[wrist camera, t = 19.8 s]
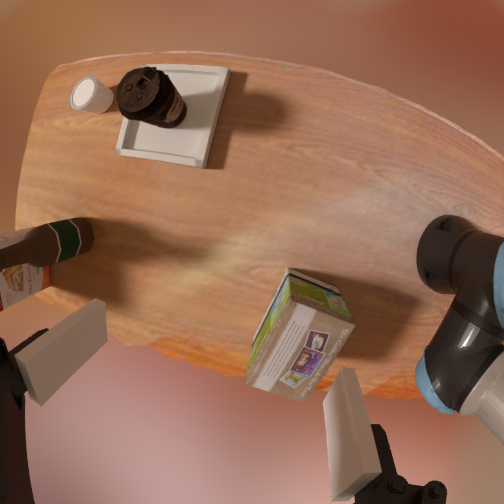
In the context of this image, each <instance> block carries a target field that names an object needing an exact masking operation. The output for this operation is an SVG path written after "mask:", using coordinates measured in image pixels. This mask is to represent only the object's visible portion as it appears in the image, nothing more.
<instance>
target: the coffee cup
mask: <svg viewBox="0 0 504 504" xmlns="http://www.w3.org/2000/svg"><path fill="white" fill-rule="evenodd" d="M156 68H157V67H149V66H148V67H147V66H146V67H143V68H139V69H134V70H132V71H130V72H128V73H127V74H126V75H125V76H124V77H123V78H122V80H121V82H120V83H119V85H118V88H117V91H116V100H117V103H118V107H119V110H120V112H121V114H122V115H123V116H124V117H125V118H126V119H128V120H136V121H141V122H144V123H147V124H150V125H154V126H157V127H160V128H165V129H171V128H175V127H177V126H178V125H180V124H181V123H182V122H183V120H184V119H185V117H186V113H187V106H186V103H185V102H184V100H182V97H181V95H180V93H179V92H178V91H177V89H176V87H175V86H174V85H173V83H172V81H170V78H169V77H168V75H165V73H164V72H163V71H161V70H157V69H156Z"/></svg>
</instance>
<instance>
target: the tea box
mask: <svg viewBox="0 0 504 504" xmlns="http://www.w3.org/2000/svg"><path fill="white" fill-rule="evenodd" d="M355 325H356V324H355V322H354V320H353V318H352V316H351V314H350V312H349V310H348V308H347V306H346V304H345V302H344V300H343V298H342V297H341V295H340V293H339V291H338V289H337V288H336V287H334V286H332V285H330V284H327V283H324V282H322V281H319V280H317V279H314V278H312V277H309V276H307V275H305V274H302V273H300V272H298V271H295V270H293V269H290V268H287V270H286V272H285V274H284V276H283V278H282V280H281V282H280V284H279V286H278V288H277V290H276V292H275V294H274V296H273V298H272V301H271V303H270V305H269V307H268V309H267V311H266V313H265V315H264V317H263V319H262V321H261V323H260V325H259V327H258V329H257V331H256V333H255V335H254V339H253V344H252V349H251V355H250V359H249V365H248V370H247V375H246V384H247V385H250V386H253V387H256V388H259V389H262V390H265V391H268V392H271V393H274V394H277V395H281V396H284V397H287V398H290V399H294V400H297V401H300V402H305V401H306V399H307V398H308V397H309V395H310V394H311V392H312V391H313V390H314V389H315V387H316V386H317V384H318V383H319V382H320V380H321V379H322V377H323V376H324V374H325V373H326V371H327V370H328V368H329V367H330V365H331V364H332V362H333V361H334V359H335V358H336V356H337V355H338V353H339V352H340V350H341V349H342V347H343V345H344V344H345V342H346V341H347V339H348V337H349V336H350V334H351V332H352V331H353V329H354V327H355Z"/></svg>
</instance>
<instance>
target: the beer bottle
mask: <svg viewBox="0 0 504 504" xmlns="http://www.w3.org/2000/svg"><path fill="white" fill-rule="evenodd" d="M93 239H94V237H93V233H92V228H91V225H90V224H89V223H88V222H87V221H86V220H84V219H83V218H82V217H79V218H72V219H67V220H62V221H57V222H52V223H47V224H44V225H41V226H38V227H36V228H33V229H31V230H30V231H29V232H27V233H26V235H25V237H24V238H23V240H21V241H20V242H18V243H16V244H13V245H10V246H8V247H5V248H3V249H0V273H1V272H2V270H3V269H6V268H10V267H13V266H17V265H20V264H27V263H28V264H30V265H31V266H33V267H39V268H40V267H45V266H49V265H53V264H56V263H59V262H61V261H64V260H66V259H69V258H72V257H74V256H77V255H80V254H82V253H85V252H87V251H89V249H90V246H91V244H92V242H93Z"/></svg>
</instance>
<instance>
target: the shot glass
mask: <svg viewBox="0 0 504 504" xmlns="http://www.w3.org/2000/svg"><path fill="white" fill-rule="evenodd" d="M113 95H114V94H113V92H112V91H111V90H110V89H109V88H108V87H106V86H105V85H104V84H102V83H101V82H100V81H98V80H97V79H96V78H94V77H92V76H87V77H85V78H83V79H81V80H80V81H79V82H78V83H77V84H76V86H75V87H74V89H73V91H72V93H71V97H70V103H71V106H72V107H73V108H74V109H76V110H82V111H87V112H92V113H98V114H101V113H103V112H105V111H106V110H108V109H109V107H110V106H111V104H112V102H113Z"/></svg>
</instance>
